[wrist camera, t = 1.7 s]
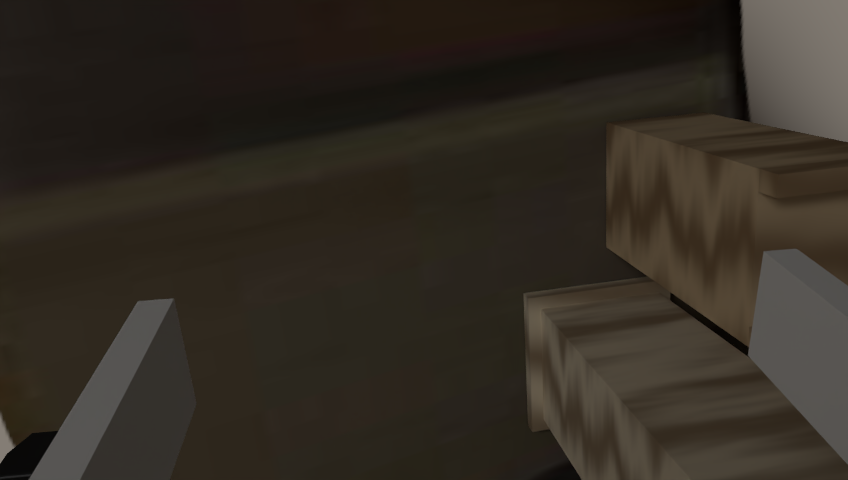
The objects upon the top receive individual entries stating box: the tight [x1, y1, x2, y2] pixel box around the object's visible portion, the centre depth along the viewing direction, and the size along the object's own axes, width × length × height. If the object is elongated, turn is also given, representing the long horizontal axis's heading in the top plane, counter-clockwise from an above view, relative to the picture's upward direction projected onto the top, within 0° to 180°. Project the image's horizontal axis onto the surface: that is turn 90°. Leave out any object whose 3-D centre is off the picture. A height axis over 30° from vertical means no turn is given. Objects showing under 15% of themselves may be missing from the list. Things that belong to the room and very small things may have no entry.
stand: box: [524, 277, 848, 480], centre depth 46 cm, size 12×12×30 cm
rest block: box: [606, 113, 848, 347], centre depth 47 cm, size 10×8×20 cm
